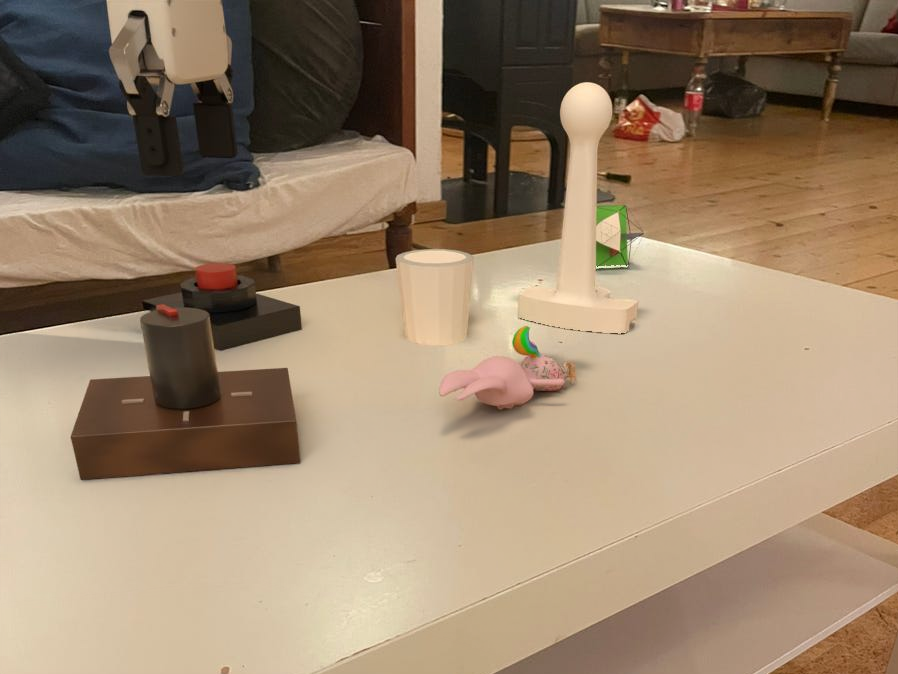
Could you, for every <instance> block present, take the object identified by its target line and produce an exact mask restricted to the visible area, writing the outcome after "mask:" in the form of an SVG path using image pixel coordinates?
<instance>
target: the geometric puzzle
mask: <svg viewBox="0 0 898 674" xmlns="http://www.w3.org/2000/svg"><path fill="white" fill-rule="evenodd" d="M628 211H629V212H630V214H631V216H633V218H634V220H635V222H636V223H637V225H638V226H639V227H638V226H637V225H636V224H634V226H635V227H636V228H637V229H639V230H640V231H641V232H631V228H630V223H631V224H633V222H632V221H631V220H629V216H628V215H629V213H628ZM627 224H628V227H627ZM628 230H629V231H628ZM628 232H629V233H628ZM645 233H646V231H644V230H643V229H642V228H641V226H640V224H639V223H638V221H637V220H636V219H635V217H634V215H633V214H632V212H631V211H630V209H629V208H628V205H627V204H619V205H618V204H617V205H615V204H614V205H597V212H596V266H597V267H598V266H605V265H606V266H611V265H614V266H616V265H620V266H621V265H626V266H627V265H629V266H630V264H631V262H632V260H633V259H631V261H630V257H631V248H632V243H634V242H635V241H636V240H637V239H638V238H640V237H641V238H640V241H639V242H638V244H640V243H641V242H642V241H641V240H642V238H643V237H642V236H643V235H644V234H645ZM628 246H629V254H628ZM637 250H638V248H636V249H635V251H634V254H633V255H635V253H636V252H637Z"/></svg>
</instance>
